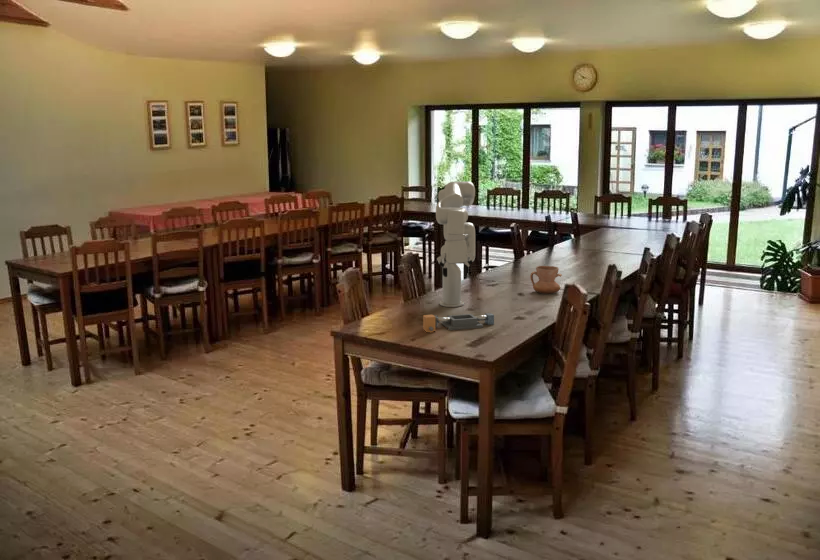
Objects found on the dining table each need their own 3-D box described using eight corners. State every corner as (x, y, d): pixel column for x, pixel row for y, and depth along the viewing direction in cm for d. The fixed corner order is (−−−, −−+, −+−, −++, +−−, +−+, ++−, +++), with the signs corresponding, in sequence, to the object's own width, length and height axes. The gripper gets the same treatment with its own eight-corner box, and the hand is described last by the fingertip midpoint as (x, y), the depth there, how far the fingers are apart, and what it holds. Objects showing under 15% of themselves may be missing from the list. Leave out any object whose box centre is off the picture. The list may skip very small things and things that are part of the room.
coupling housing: (442, 324, 331) (442, 315, 330) (474, 321, 335) (474, 312, 334) (449, 330, 321) (449, 321, 320) (482, 327, 325) (482, 318, 324)
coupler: (426, 333, 316) (426, 318, 314) (422, 329, 323) (422, 314, 321) (436, 333, 317) (436, 317, 315) (431, 328, 324) (431, 313, 323)
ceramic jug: (565, 291, 394) (566, 266, 391) (556, 297, 382) (557, 271, 379) (535, 288, 403) (536, 263, 400) (525, 293, 391) (525, 267, 388)
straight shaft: (475, 325, 327) (475, 316, 326) (472, 323, 331) (472, 314, 330) (493, 324, 330) (494, 315, 329) (490, 322, 333) (490, 312, 333)
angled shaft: (450, 325, 328) (450, 316, 327) (449, 327, 325) (449, 318, 324) (431, 324, 330) (431, 315, 329) (430, 327, 326) (430, 317, 325)
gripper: (470, 235, 319) (470, 273, 323) (434, 237, 315) (434, 275, 318) (477, 237, 312) (476, 276, 316) (440, 239, 308) (440, 278, 311)
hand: (455, 275), depth 317 cm, fingers open, 9 cm apart
